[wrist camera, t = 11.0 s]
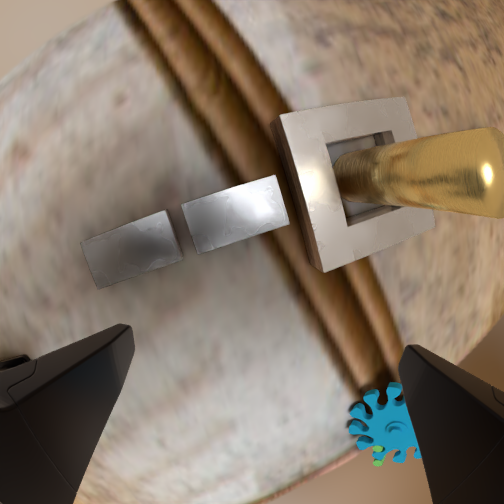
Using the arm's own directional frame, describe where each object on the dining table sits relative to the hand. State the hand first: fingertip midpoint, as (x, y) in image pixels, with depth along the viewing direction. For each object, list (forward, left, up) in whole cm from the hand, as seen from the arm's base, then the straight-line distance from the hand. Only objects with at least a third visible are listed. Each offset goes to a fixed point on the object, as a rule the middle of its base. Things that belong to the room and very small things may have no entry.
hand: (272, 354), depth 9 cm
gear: (+9, -19, -12) cm, 24 cm away
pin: (+10, +3, -11) cm, 16 cm away
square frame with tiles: (+10, +3, -11) cm, 16 cm away
